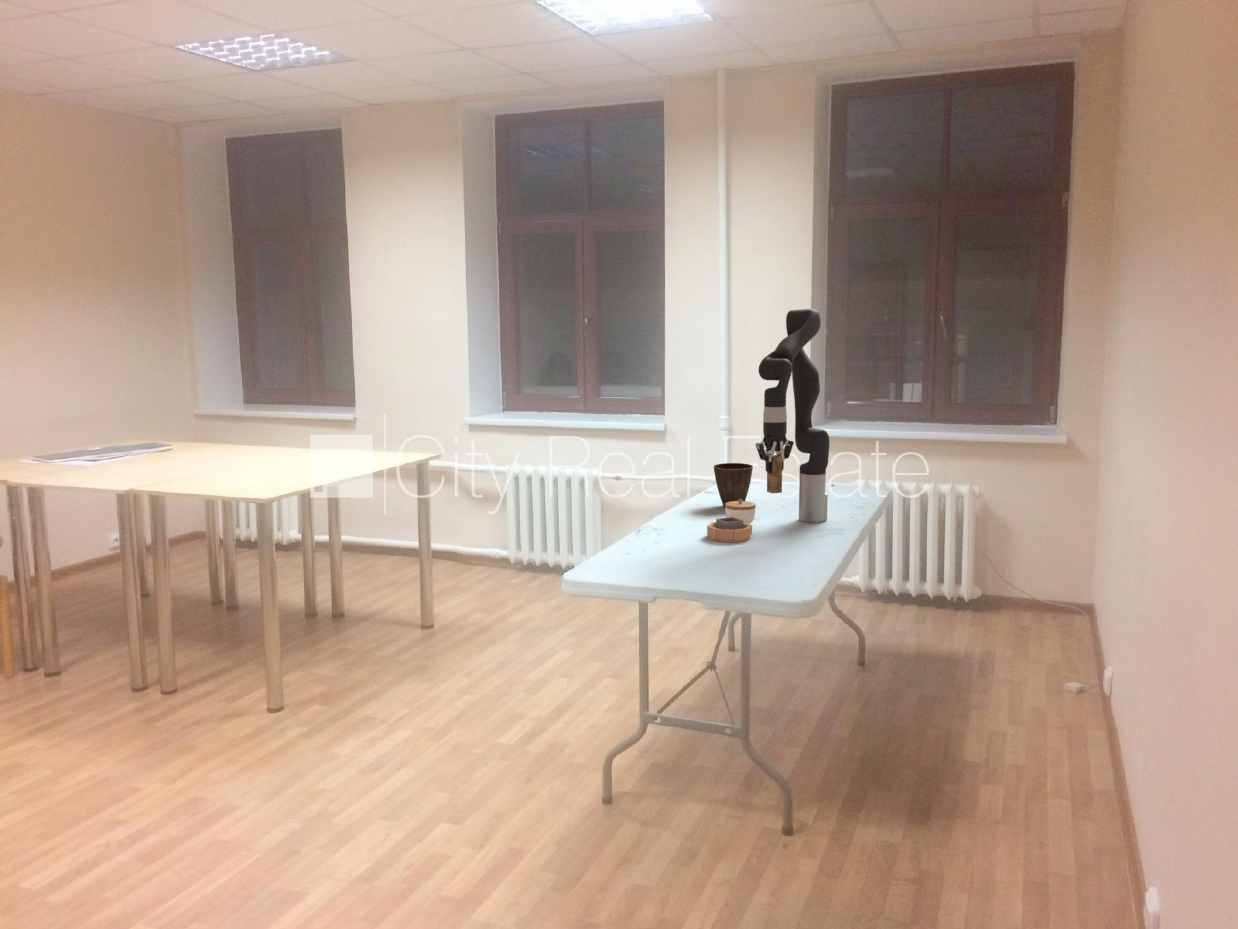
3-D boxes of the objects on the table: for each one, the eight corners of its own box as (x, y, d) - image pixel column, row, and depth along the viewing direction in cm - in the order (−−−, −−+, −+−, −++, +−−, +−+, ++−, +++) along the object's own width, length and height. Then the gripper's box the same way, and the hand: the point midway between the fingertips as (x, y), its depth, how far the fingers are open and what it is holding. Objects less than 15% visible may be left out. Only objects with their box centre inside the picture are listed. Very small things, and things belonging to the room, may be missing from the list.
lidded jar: (754, 529, 335) (754, 502, 334) (723, 528, 338) (723, 501, 336) (756, 522, 346) (756, 496, 344) (726, 521, 348) (726, 496, 346)
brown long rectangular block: (775, 490, 321) (776, 455, 319) (781, 492, 318) (782, 456, 316) (766, 491, 320) (767, 455, 318) (772, 493, 317) (773, 457, 315)
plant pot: (733, 512, 363) (733, 470, 361) (705, 506, 375) (705, 465, 372) (760, 507, 373) (760, 466, 370) (732, 501, 384) (732, 461, 382)
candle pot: (736, 531, 333) (736, 513, 332) (758, 539, 320) (759, 521, 319) (700, 535, 327) (700, 517, 326) (722, 544, 314) (722, 526, 314)
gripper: (786, 417, 322) (785, 468, 324) (750, 420, 316) (749, 472, 318) (799, 419, 315) (799, 472, 318) (763, 422, 309) (762, 476, 312)
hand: (774, 472), depth 318 cm, fingers closed on brown long rectangular block, 3 cm apart
